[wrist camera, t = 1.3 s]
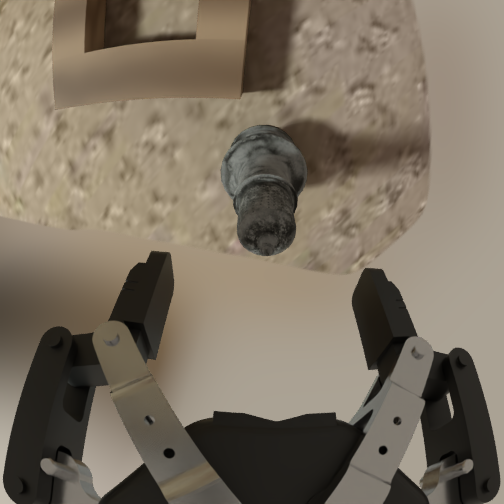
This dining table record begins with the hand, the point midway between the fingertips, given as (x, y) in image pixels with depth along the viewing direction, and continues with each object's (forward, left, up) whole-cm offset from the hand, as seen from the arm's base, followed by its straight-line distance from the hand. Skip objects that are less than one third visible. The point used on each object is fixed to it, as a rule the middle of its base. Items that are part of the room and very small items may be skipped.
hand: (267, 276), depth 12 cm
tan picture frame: (-13, -9, -13) cm, 21 cm away
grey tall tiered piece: (0, 0, -13) cm, 13 cm away
